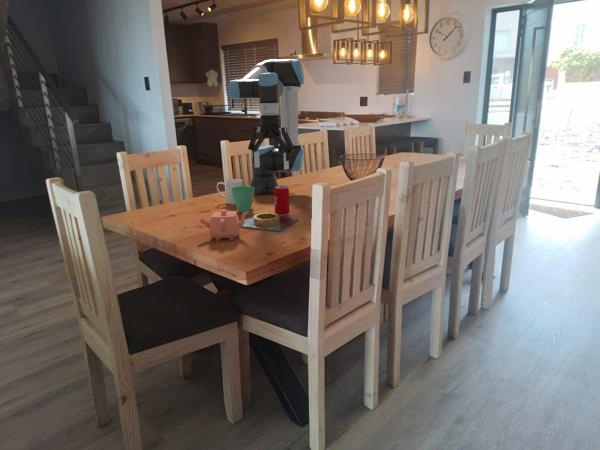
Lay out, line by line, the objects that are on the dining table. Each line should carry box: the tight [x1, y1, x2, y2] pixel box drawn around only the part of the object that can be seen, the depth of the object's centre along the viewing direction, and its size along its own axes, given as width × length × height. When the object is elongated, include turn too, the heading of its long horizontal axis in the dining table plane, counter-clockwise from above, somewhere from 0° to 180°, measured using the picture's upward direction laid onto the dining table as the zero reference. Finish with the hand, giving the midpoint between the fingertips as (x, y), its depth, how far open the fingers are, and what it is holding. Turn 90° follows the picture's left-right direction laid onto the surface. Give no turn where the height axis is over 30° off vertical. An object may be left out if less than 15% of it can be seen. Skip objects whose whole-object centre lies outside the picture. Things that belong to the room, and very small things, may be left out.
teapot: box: [199, 209, 250, 242], centre depth 157 cm, size 14×12×10 cm
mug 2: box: [232, 185, 255, 213], centre depth 193 cm, size 15×10×10 cm
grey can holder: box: [241, 212, 299, 233], centre depth 173 cm, size 16×20×3 cm
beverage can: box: [273, 185, 291, 217], centre depth 184 cm, size 6×6×12 cm
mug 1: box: [216, 178, 244, 206], centre depth 205 cm, size 12×8×10 cm, turn 91°
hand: (271, 168), depth 179 cm, fingers open, 13 cm apart
